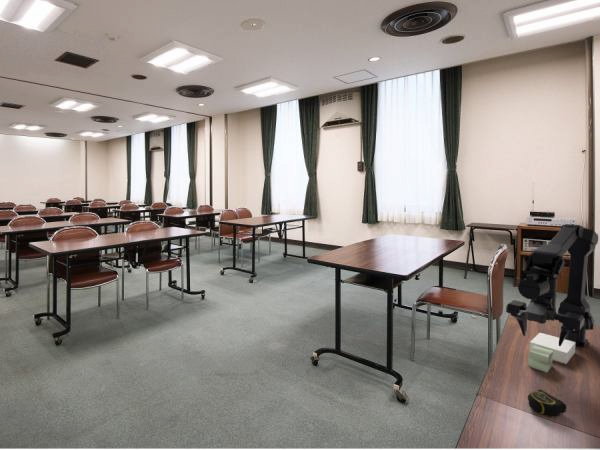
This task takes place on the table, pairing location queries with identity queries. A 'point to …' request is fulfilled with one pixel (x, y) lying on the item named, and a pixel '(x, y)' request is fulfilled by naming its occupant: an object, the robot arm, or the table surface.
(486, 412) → the table surface
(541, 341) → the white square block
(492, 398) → the table surface
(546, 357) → the green cube
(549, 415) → the tape measure
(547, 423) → the table surface
